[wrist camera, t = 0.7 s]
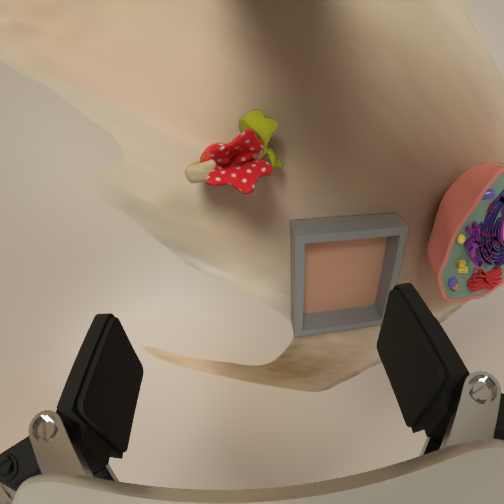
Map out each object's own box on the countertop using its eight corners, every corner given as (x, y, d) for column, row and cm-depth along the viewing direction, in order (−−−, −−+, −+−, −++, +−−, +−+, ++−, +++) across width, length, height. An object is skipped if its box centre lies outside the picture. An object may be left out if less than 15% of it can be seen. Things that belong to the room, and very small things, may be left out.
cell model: (381, 220, 34) (426, 277, 25) (483, 115, 27) (547, 142, 17) (436, 287, 41) (471, 339, 31) (519, 202, 33) (566, 239, 23)
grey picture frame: (289, 220, 34) (294, 235, 31) (396, 212, 34) (409, 226, 31) (291, 318, 42) (294, 336, 39) (378, 307, 42) (386, 323, 39)
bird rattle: (230, 177, 33) (306, 156, 29) (180, 237, 25) (275, 217, 21) (205, 128, 30) (281, 99, 26) (143, 175, 22) (236, 136, 18)
